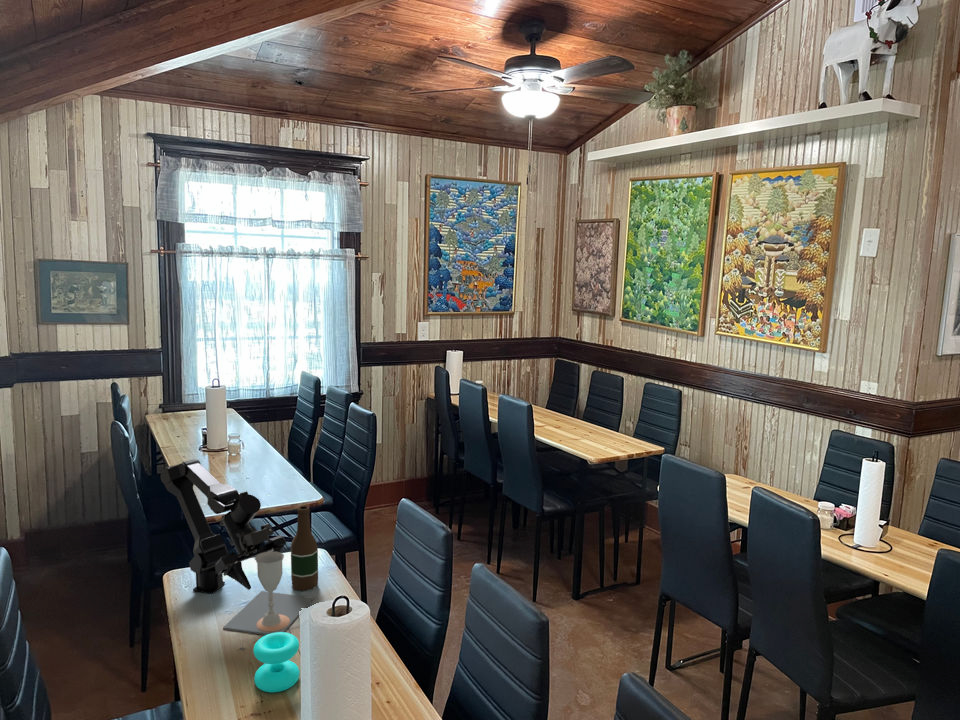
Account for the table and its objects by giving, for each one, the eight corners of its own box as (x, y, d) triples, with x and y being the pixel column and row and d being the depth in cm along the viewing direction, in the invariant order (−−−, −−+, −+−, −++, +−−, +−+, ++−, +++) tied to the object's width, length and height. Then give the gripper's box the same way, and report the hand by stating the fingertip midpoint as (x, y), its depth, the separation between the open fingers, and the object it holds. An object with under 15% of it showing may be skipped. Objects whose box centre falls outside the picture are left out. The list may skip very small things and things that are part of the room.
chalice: (288, 614, 190) (287, 551, 187) (281, 628, 183) (280, 563, 180) (261, 614, 190) (259, 551, 187) (253, 628, 183) (251, 562, 180)
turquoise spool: (302, 648, 158) (256, 657, 154) (303, 689, 160) (257, 699, 156) (295, 626, 167) (250, 634, 163) (295, 664, 169) (252, 674, 165)
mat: (223, 629, 183) (223, 626, 183) (261, 592, 203) (261, 590, 203) (280, 637, 180) (280, 635, 180) (313, 599, 200) (313, 597, 200)
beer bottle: (323, 585, 208) (322, 507, 204) (300, 594, 202) (299, 514, 198) (308, 576, 213) (307, 500, 209) (285, 585, 207) (284, 507, 203)
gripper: (219, 527, 179) (246, 582, 174) (281, 507, 194) (307, 557, 189) (203, 547, 185) (229, 600, 181) (265, 526, 200) (289, 575, 195)
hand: (265, 582), depth 186 cm, fingers open, 9 cm apart
